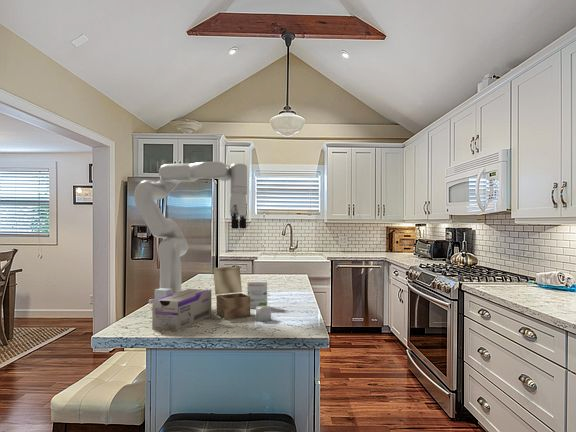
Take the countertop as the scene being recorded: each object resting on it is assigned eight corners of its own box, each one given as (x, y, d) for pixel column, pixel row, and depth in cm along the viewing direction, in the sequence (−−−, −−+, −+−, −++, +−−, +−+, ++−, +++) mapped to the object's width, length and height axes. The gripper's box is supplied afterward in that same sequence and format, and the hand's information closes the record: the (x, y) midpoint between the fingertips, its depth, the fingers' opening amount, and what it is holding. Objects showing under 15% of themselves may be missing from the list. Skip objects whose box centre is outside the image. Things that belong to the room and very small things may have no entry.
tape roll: (259, 322, 147) (259, 309, 148) (253, 319, 153) (253, 306, 153) (273, 320, 150) (273, 307, 151) (266, 317, 156) (266, 305, 156)
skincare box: (173, 318, 154) (173, 288, 154) (166, 321, 150) (166, 290, 150) (160, 317, 156) (160, 287, 156) (153, 319, 152) (154, 289, 152)
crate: (225, 319, 152) (225, 299, 152) (216, 314, 161) (216, 295, 161) (250, 316, 158) (250, 296, 158) (240, 311, 166) (240, 293, 166)
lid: (215, 267, 162) (213, 268, 164) (217, 293, 159) (215, 294, 161) (240, 266, 168) (238, 267, 170) (243, 291, 165) (241, 292, 167)
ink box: (267, 306, 177) (267, 280, 177) (265, 308, 172) (266, 282, 172) (249, 306, 178) (249, 280, 178) (247, 308, 173) (247, 282, 173)
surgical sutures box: (178, 331, 135) (178, 301, 136) (152, 329, 138) (152, 300, 139) (211, 315, 159) (211, 290, 160) (188, 314, 162) (188, 288, 163)
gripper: (238, 192, 184) (238, 228, 184) (223, 189, 167) (223, 228, 167) (252, 192, 182) (252, 228, 182) (239, 189, 165) (240, 228, 165)
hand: (239, 228), depth 174 cm, fingers open, 9 cm apart
